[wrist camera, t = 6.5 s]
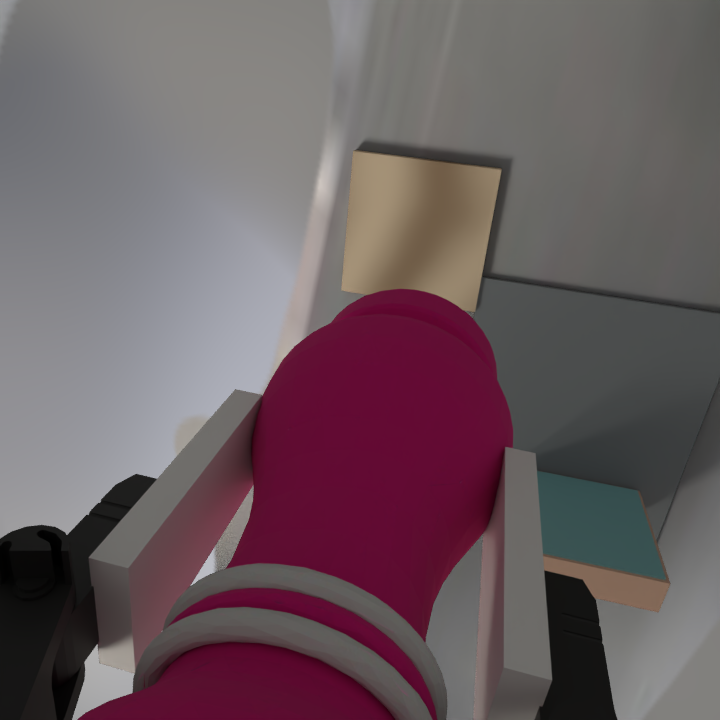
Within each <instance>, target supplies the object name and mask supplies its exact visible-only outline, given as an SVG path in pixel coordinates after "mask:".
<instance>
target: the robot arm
mask: <svg viewBox="0 0 720 720" xmlns="http://www.w3.org/2000/svg"><path fill="white" fill-rule="evenodd" d="M261 402H262V395H260V394H255V393H250V392H246V391H241V390H236V389H235V390H234V392H233V393H232V394H231V395H230V396H229V397H228V399H227V400H226V401H225V402H224V403H223V404H222V405H221V407H220V408H219V409H218V410H217V411H216V412H215V413H214V415H213V416H212V417H211V418H210V419H209V420H208V421H207V422H206V424H205V425H204V426H203V427H202V428H201V429H200V431H199V432H198V433H197V434H196V435H195V436H194V437H193V439H192V440H191V441H190V442H189V443H188V444H187V445H186V447H185V448H184V449H183V450H182V451H181V452H180V453H179V455H178V456H177V457H176V458H175V459H174V460H173V461H172V463H171V464H170V465H169V466H168V467H167V468H166V470H165V471H164V472H163V473H162V474H161V475H160V476H159V478H158V479H155V478H151V477H147V476H143V475H138V474H135V475H133V476H131V477H129V478H128V479H126V480H124V481H122V482H120V483H118V484H116V485H115V486H114V487H113V488H112V489H111V490H110V491H109V492H108V493H107V494H106V495H105V496H104V497H103V498H102V499H101V502H100V503H98V504H97V505H96V506H95V507H94V508H93V509H92V510H91V511H90V513H89V515H86V516H85V517H84V518H83V519H82V520H81V521H80V522H79V523H78V525H76V527H75V528H74V529H73V530H72V531H71V532H70V533H69V534H68V535H66V533H65V532H63V531H61V530H60V529H58V528H56V527H52V526H44V525H38V526H29V527H24V528H21V529H18V530H15V531H12V532H10V533H8V534H7V535H5V536H4V537H2V538H1V539H0V720H72V718H73V714H74V711H75V708H76V704H77V701H78V698H79V695H80V692H81V689H82V686H83V682H84V677H85V664H84V661H85V660H86V659H87V657H88V656H89V655H90V653H91V652H92V650H93V649H94V648H95V646H96V645H97V644H98V653H99V663H100V664H104V665H108V666H111V667H115V668H118V669H121V670H125V671H128V672H131V673H135V671H136V668H137V665H138V663H139V661H140V658H141V656H142V654H143V652H144V650H145V649H146V647H147V646H148V645H149V644H150V643H151V641H152V640H153V639H154V638H155V637H156V636H157V635H159V634H160V633H161V632H162V630H163V627H164V623H165V620H166V618H167V616H168V614H169V612H170V610H171V608H172V607H173V605H174V604H175V602H176V600H177V599H178V598H179V597H180V596H181V595H182V594H183V593H184V592H185V591H186V590H187V588H189V587H190V585H191V584H192V582H193V580H194V579H195V577H196V575H197V574H198V572H199V571H200V569H201V567H202V566H203V564H204V563H205V561H206V560H207V558H208V556H209V555H210V553H211V552H212V550H213V548H214V547H215V545H216V544H217V542H218V540H219V539H220V537H221V536H222V534H223V532H224V531H225V529H226V528H227V526H228V524H229V523H230V521H231V520H232V518H233V516H234V515H235V513H236V512H237V510H238V508H239V507H240V505H241V503H242V502H243V500H244V499H245V497H246V495H247V494H248V492H249V491H250V489H251V487H252V486H253V471H252V457H251V449H252V435H253V431H254V427H255V422H256V418H257V414H258V411H259V408H260V405H261ZM473 720H617V717H616V714H615V710H614V705H613V699H612V693H611V688H610V682H609V676H608V670H607V664H606V658H605V652H604V646H603V644H602V634H601V628H600V626H599V616H598V610H597V604H596V600H595V598H594V597H593V595H592V594H591V592H590V590H589V589H588V587H587V586H586V584H585V583H584V581H583V579H578V578H574V577H570V576H566V575H562V574H558V573H553V572H549V571H545V570H544V562H543V548H542V534H541V521H540V507H539V494H538V480H537V466H536V453H532V452H527V451H523V450H518V449H513V448H509V447H505V450H504V455H503V461H502V468H501V474H500V480H499V485H498V489H497V494H496V499H495V503H494V507H493V511H492V515H491V518H490V521H489V524H488V526H487V528H486V530H485V531H484V532H483V550H482V568H481V587H480V605H479V624H478V642H477V661H476V679H475V698H474V716H473Z"/></svg>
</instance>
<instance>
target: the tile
mask: <svg viewBox="0 0 720 720" xmlns="http://www.w3.org/2000/svg"><path fill="white" fill-rule="evenodd" d="M537 480H538V494H539V507H540V521H541V534H542V548H543V562H544V570H545V571H549V572H553V573H558V574H562V575H566V576H570V577H574V578H578V579H583V581H584V583H585V584H586V586H587V587H588V589H589V590H590V592H591V594H592V595H593V597H594V598H597V599H601V600H606V601H610V602H615V603H619V604H624V605H628V606H632V607H637V608H641V609H646V610H650V611H655V612H659V610H660V608H661V605H662V603H663V600H664V598H665V596H666V593H667V591H668V588H669V586H670V581H669V578H668V575H667V572H666V569H665V566H664V563H663V560H662V557H661V554H660V551H659V548H658V545H657V542H656V539H655V536H654V533H653V530H652V527H651V524H650V521H649V518H648V514H647V511H646V508H645V505H644V502H643V499H642V496H641V493H640V491H638V490H633V489H628V488H623V487H618V486H613V485H608V484H603V483H598V482H593V481H587V480H582V479H577V478H572V477H567V476H562V475H557V474H552V473H547V472H542V471H537Z"/></svg>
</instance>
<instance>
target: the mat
mask: <svg viewBox="0 0 720 720" xmlns="http://www.w3.org/2000/svg"><path fill="white" fill-rule="evenodd" d="M473 320H474V321H475V322H476V323H477V324H478V325H479V327H480V328H481V329H482V330H483V332H484V334H485V335H486V337H487V339H488V341H489V342H490V345H491V347H492V350H493V353H494V357H495V361H496V367H497V380H498V382H499V385H500V387H501V389H502V391H503V393H504V395H505V398H506V401H507V404H508V407H509V410H510V414H511V420H512V425H513V449H518V450H523V451H527V452H532V453H536V466H537V471H542V472H547V473H552V474H557V475H562V476H567V477H572V478H577V479H582V480H587V481H593V482H598V483H603V484H608V485H613V486H618V487H623V488H628V489H633V490H638V491H640V493H641V496H642V499H643V502H644V505H645V508H646V511H647V514H648V518H649V521H650V524H651V527H652V530H653V533H654V536H655V539H656V541H657V538H658V536H659V533H660V530H661V528H662V525H663V523H664V520H665V518H666V515H667V512H668V510H669V507H670V505H671V502H672V500H673V497H674V494H675V492H676V489H677V487H678V484H679V482H680V479H681V476H682V474H683V471H684V469H685V466H686V464H687V461H688V458H689V456H690V453H691V451H692V448H693V446H694V443H695V440H696V438H697V435H698V433H699V430H700V428H701V425H702V422H703V420H704V417H705V415H706V412H707V410H708V407H709V404H710V402H711V399H712V397H713V394H714V392H715V389H716V386H717V384H718V381H719V379H720V313H719V312H713V311H706V310H700V309H693V308H687V307H680V306H673V305H667V304H660V303H654V302H647V301H641V300H634V299H628V298H621V297H615V296H608V295H601V294H595V293H588V292H582V291H575V290H569V289H562V288H556V287H549V286H543V285H536V284H529V283H523V282H516V281H510V280H503V279H497V278H490V277H484V276H482V277H481V283H480V288H479V293H478V299H477V304H476V309H475V314H474V319H473Z"/></svg>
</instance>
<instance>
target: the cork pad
mask: <svg viewBox="0 0 720 720" xmlns="http://www.w3.org/2000/svg"><path fill="white" fill-rule="evenodd" d="M501 170H502V168H494V167H486V166H478V165H470V164H462V163H454V162H446V161H439V160H431V159H423V158H415V157H407V156H399V155H391V154H383V153H375V152H367V151H359V150H355V151H353V161H352V172H351V184H350V196H349V207H348V219H347V231H346V242H345V254H344V266H343V277H342V289H341V290H342V291H348V292H354V293H360V294H366V295H369V294H373V293H376V292H379V291H384V290H392V289H414V290H419V291H425V292H428V293H432V294H435V295H438V296H440V297H442V298H444V299H447V300H449V301H450V302H452V303H454V304H455V305H457V306H458V307H460V308H461V309H462V310H465V311H471V312H475V309H476V304H477V299H478V293H479V288H480V283H481V277H482V272H483V267H484V261H485V256H486V250H487V245H488V240H489V234H490V229H491V224H492V218H493V213H494V208H495V202H496V197H497V192H498V186H499V181H500V176H501Z"/></svg>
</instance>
